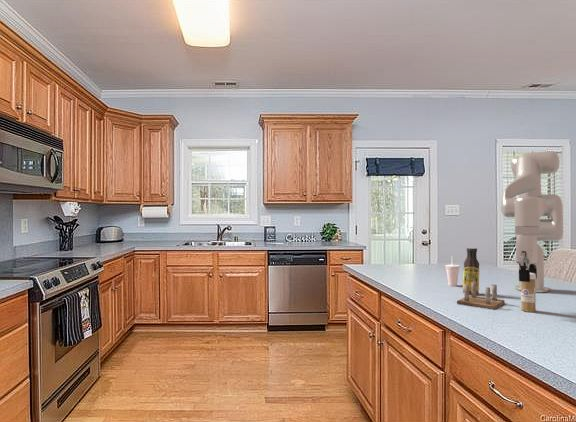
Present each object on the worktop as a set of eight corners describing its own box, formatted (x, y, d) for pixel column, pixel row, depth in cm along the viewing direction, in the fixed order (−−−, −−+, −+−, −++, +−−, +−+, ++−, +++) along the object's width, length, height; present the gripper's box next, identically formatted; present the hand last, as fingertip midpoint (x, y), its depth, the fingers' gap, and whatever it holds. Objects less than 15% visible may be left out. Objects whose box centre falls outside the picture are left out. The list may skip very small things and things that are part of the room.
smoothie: (459, 284, 185) (458, 255, 185) (460, 287, 179) (460, 257, 179) (445, 284, 187) (444, 255, 187) (446, 286, 181) (445, 257, 181)
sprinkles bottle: (520, 311, 135) (519, 273, 135) (522, 308, 139) (521, 271, 139) (535, 313, 132) (534, 274, 132) (537, 310, 136) (536, 272, 136)
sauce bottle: (462, 294, 163) (461, 248, 163) (463, 291, 169) (462, 246, 169) (479, 295, 160) (478, 248, 160) (479, 293, 166) (479, 247, 166)
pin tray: (469, 298, 156) (469, 280, 156) (504, 303, 147) (504, 284, 147) (456, 304, 147) (456, 285, 147) (493, 309, 137) (493, 289, 138)
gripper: (521, 231, 144) (522, 276, 144) (508, 232, 132) (509, 281, 131) (545, 231, 139) (546, 278, 138) (533, 232, 127) (534, 284, 126)
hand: (528, 279), depth 135 cm, fingers open, 9 cm apart
